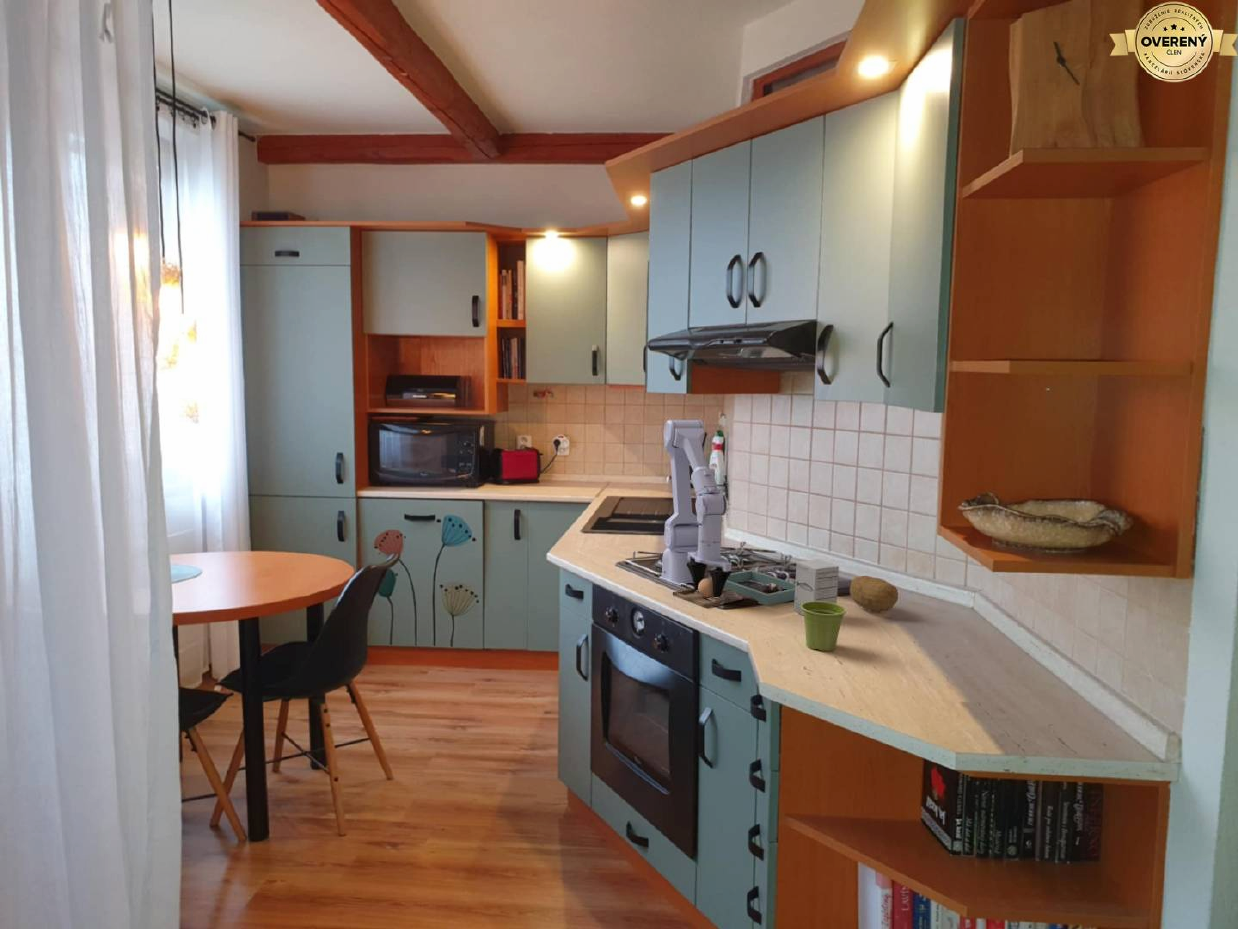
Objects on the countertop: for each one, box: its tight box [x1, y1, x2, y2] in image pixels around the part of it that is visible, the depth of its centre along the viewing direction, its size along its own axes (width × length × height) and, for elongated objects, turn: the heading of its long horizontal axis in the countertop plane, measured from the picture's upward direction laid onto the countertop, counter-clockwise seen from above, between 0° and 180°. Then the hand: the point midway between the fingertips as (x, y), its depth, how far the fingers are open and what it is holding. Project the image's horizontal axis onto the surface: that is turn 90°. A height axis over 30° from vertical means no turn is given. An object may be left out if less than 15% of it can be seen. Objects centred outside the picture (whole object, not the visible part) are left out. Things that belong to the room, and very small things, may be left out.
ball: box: [698, 577, 713, 598], centre depth 209 cm, size 5×5×5 cm
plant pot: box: [801, 601, 847, 652], centre depth 176 cm, size 9×9×9 cm
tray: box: [724, 569, 795, 607], centre depth 215 cm, size 20×14×3 cm
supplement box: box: [793, 558, 840, 616], centre depth 198 cm, size 7×7×13 cm
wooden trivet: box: [672, 587, 736, 609], centre depth 209 cm, size 13×13×1 cm
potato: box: [849, 575, 899, 613], centre depth 203 cm, size 10×14×8 cm
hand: (707, 592), depth 209 cm, fingers open, 7 cm apart
